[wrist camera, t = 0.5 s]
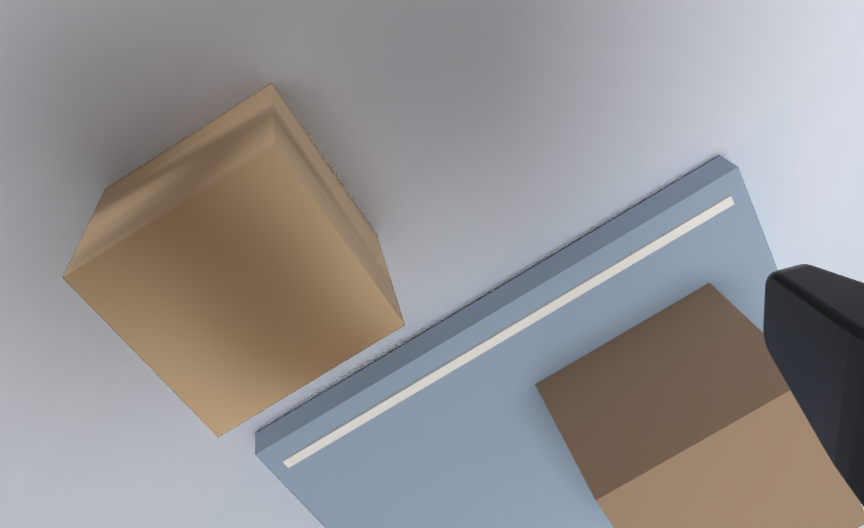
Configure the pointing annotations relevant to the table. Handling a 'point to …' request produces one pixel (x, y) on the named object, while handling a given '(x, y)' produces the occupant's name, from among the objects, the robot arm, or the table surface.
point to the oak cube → (236, 264)
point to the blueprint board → (492, 398)
